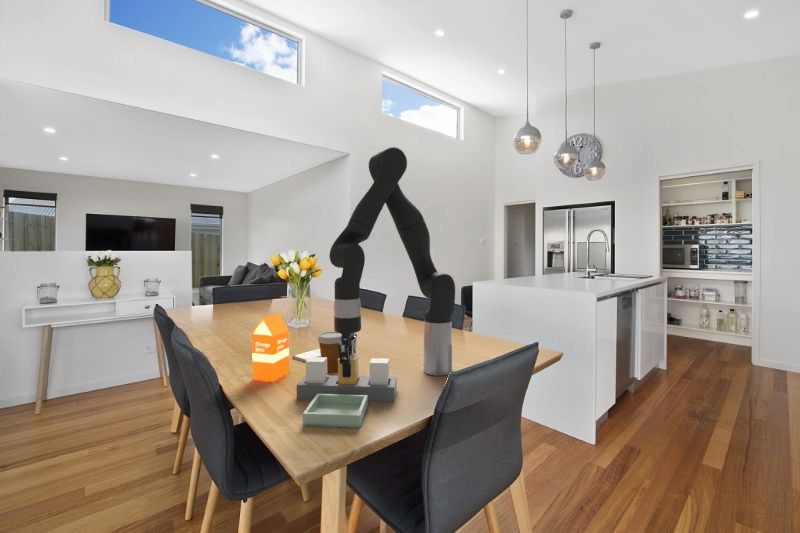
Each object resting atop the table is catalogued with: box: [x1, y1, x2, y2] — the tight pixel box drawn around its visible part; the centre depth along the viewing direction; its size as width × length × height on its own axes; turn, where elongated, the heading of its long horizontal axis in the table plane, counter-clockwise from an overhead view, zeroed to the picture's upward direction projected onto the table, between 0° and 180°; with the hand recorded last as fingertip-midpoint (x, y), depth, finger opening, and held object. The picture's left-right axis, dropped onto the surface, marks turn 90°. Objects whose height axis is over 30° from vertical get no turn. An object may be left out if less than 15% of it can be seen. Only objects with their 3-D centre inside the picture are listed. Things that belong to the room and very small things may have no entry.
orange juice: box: [251, 312, 290, 383], centre depth 119 cm, size 8×9×20 cm
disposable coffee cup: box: [317, 331, 342, 373], centre depth 126 cm, size 10×10×12 cm
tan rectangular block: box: [337, 354, 360, 384], centre depth 104 cm, size 5×4×10 cm
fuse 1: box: [305, 357, 328, 384], centre depth 105 cm, size 5×4×10 cm
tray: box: [302, 394, 369, 429], centre depth 92 cm, size 14×12×3 cm
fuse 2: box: [369, 357, 390, 385], centre depth 104 cm, size 5×4×10 cm
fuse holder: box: [296, 374, 398, 403], centre depth 104 cm, size 27×8×4 cm, turn 86°
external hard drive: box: [292, 348, 321, 363], centre depth 141 cm, size 2×8×12 cm
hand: (348, 373), depth 104 cm, fingers closed on tan rectangular block, 4 cm apart
